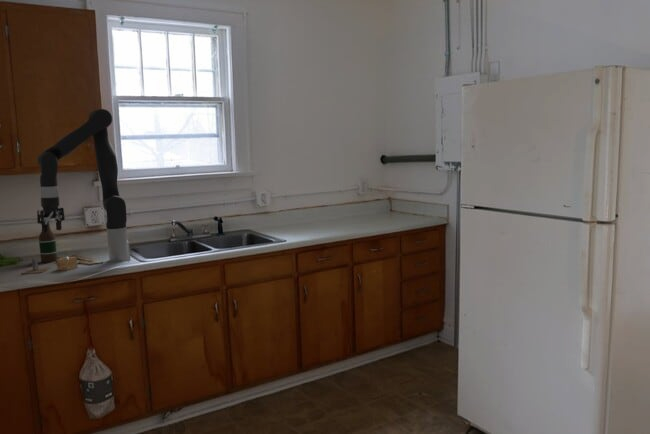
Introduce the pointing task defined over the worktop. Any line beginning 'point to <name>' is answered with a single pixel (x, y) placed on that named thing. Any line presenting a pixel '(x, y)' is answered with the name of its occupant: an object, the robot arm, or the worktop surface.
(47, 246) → the beer bottle
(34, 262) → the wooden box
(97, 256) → the worktop surface
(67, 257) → the charcoal stand
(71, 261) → the brown slotted box
